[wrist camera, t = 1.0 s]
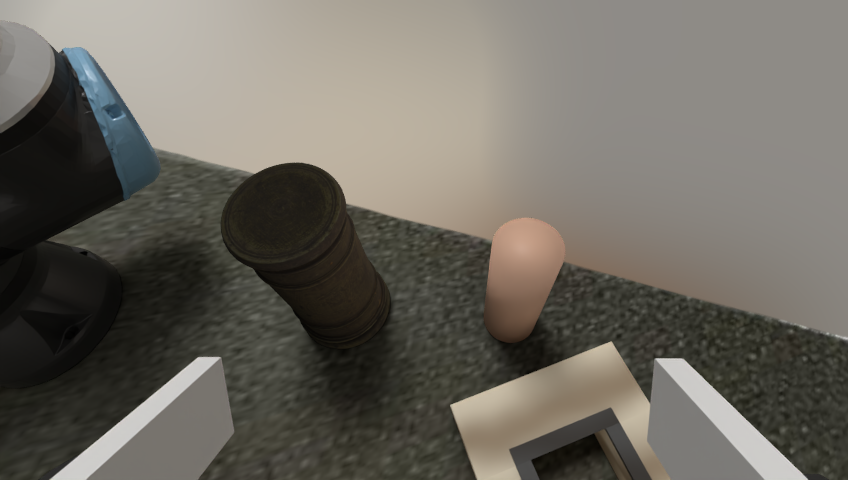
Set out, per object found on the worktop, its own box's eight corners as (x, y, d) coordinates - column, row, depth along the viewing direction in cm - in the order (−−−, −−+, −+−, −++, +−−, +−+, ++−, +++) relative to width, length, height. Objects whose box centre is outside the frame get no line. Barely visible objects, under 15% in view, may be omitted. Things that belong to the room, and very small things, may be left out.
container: (403, 283, 43) (370, 172, 28) (367, 364, 39) (304, 286, 24) (330, 259, 45) (261, 144, 30) (288, 333, 41) (185, 243, 26)
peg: (475, 304, 41) (480, 231, 29) (520, 287, 42) (543, 209, 30) (496, 350, 39) (511, 290, 27) (544, 332, 39) (579, 265, 27)
